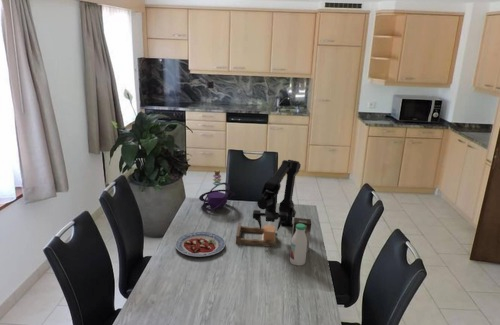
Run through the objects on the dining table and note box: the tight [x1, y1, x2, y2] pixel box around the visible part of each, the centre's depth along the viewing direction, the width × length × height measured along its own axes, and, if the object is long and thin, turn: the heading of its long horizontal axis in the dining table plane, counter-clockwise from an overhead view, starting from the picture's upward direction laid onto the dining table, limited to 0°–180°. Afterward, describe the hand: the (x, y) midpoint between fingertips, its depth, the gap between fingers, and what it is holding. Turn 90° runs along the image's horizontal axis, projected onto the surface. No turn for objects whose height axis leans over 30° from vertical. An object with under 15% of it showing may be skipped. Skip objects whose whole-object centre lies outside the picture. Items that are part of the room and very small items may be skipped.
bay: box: [235, 222, 276, 247], centre depth 211 cm, size 21×16×4 cm
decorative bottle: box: [198, 169, 235, 212], centre depth 245 cm, size 22×21×25 cm
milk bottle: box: [289, 223, 307, 267], centre depth 186 cm, size 8×8×20 cm
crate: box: [262, 224, 276, 241], centre depth 210 cm, size 6×8×6 cm
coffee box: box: [290, 216, 312, 253], centre depth 200 cm, size 9×6×16 cm
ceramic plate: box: [174, 231, 226, 258], centre depth 199 cm, size 26×26×3 cm
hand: (269, 229), depth 209 cm, fingers open, 9 cm apart
